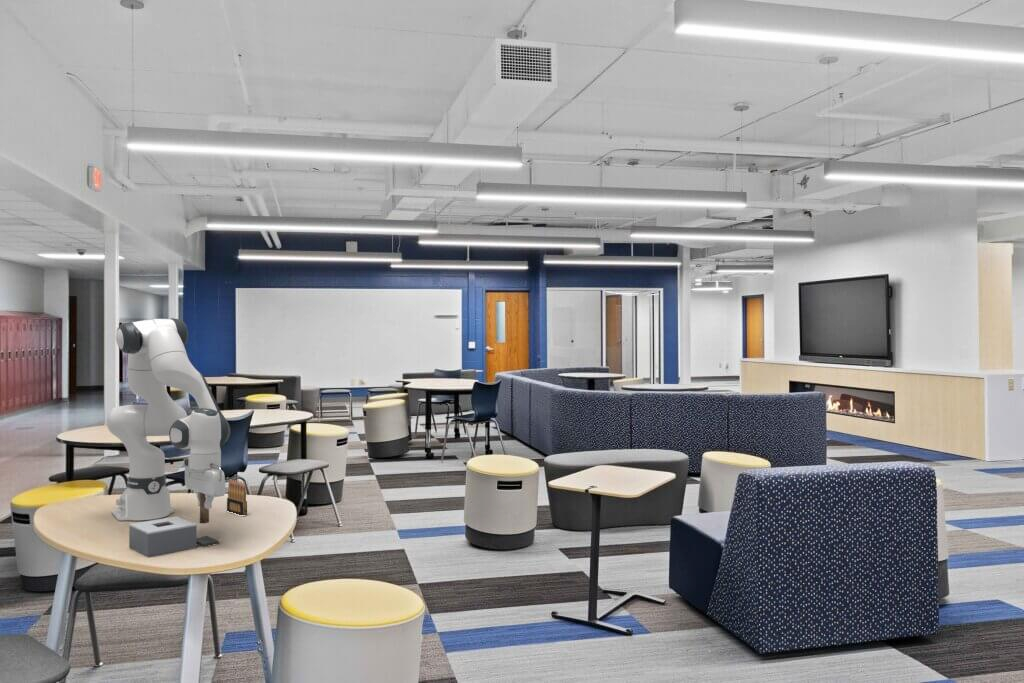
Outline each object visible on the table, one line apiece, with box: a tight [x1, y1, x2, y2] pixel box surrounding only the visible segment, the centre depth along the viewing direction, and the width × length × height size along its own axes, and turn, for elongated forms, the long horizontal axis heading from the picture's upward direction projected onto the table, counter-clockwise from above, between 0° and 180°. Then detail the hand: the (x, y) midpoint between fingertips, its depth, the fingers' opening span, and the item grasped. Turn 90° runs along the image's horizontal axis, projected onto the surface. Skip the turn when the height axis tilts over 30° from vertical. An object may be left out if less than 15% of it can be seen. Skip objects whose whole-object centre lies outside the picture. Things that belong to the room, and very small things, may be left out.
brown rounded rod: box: [199, 493, 210, 524], centre depth 229 cm, size 3×3×10 cm
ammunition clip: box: [226, 478, 248, 516], centre depth 267 cm, size 11×2×12 cm, turn 50°
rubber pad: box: [196, 535, 220, 548], centre depth 229 cm, size 8×5×1 cm, turn 47°
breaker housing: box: [128, 516, 198, 558], centre depth 224 cm, size 14×14×7 cm
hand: (204, 507), depth 229 cm, fingers closed on brown rounded rod, 3 cm apart
